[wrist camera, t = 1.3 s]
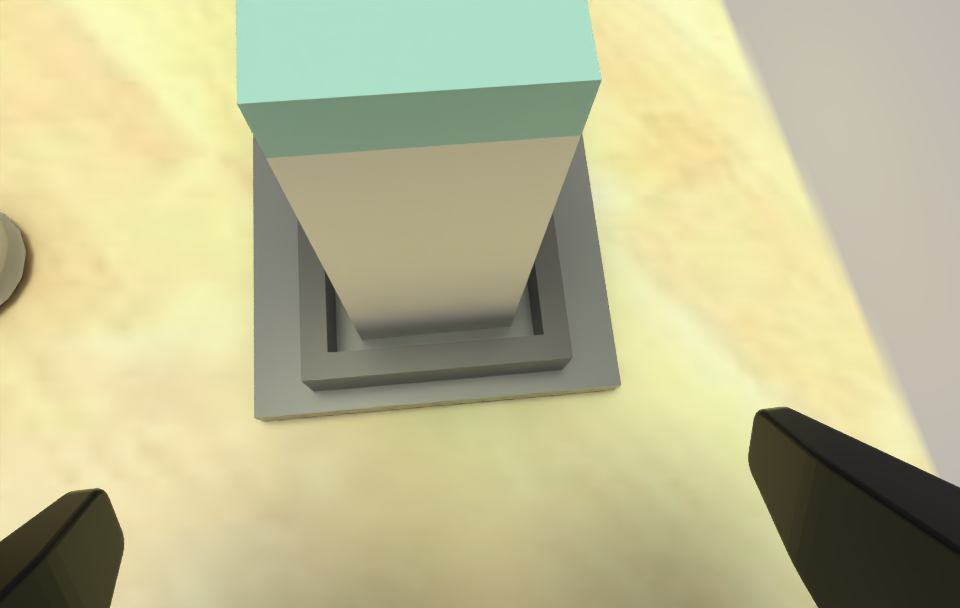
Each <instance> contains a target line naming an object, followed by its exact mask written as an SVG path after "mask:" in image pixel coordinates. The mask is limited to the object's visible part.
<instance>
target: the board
mask: <svg viewBox="0 0 960 608" xmlns="http://www.w3.org/2000/svg"><path fill="white" fill-rule="evenodd" d="M253 192H254V418H256V419H258V420H261V421H272V420H283V419H294V418H306V417H317V416H328V415H339V414H350V413H361V412H372V411H384V410H395V409H406V408H417V407H428V406H439V405H450V404H462V403H473V402H484V401H495V400H506V399H517V398H528V397H540V396H551V395H562V394H573V393H584V392H595V391H606V390H614V389H616V388H617V387H619V386H620V385H621V382H620V376H619V370H618V363H617V357H616V350H615V344H614V337H613V331H612V324H611V318H610V311H609V305H608V298H607V292H606V285H605V279H604V272H603V266H602V260H601V253H600V247H599V240H598V234H597V227H596V221H595V214H594V208H593V201H592V195H591V188H590V182H589V175H588V169H587V162H586V156H585V149H584V143H583V137H582V134H581V137H580V140H579V142H578V145H577V148H576V150H575V153H574V156H573V159H572V161H571V164H570V167H569V169H568V172H567V175H566V177H565V180H564V183H563V186H562V188H561V191H560V194H559V196H558V199H557V202H556V205H555V207H554V210H553V213H552V215H551V218H550V221H549V223H548V226H547V229H546V232H545V234H544V237H543V240H542V242H541V245H540V248H539V250H538V253H537V256H536V259H535V261H534V264H533V267H532V269H531V272H530V275H529V278H528V280H527V283H526V286H525V288H524V291H523V294H522V296H521V299H520V302H519V305H518V307H517V310H516V313H515V315H514V318H513V321H512V323H511V326H510V327H501V328H491V329H480V330H469V331H459V332H448V333H437V334H427V335H416V336H405V337H395V338H384V339H373V340H363V341H362V340H361V338H360V336H359V334H358V332H357V330H356V328H355V326H354V324H353V323H352V321H351V319H350V317H349V315H348V313H347V311H346V309H345V307H344V305H343V304H342V302H341V300H340V298H339V296H338V294H337V292H336V290H335V288H334V287H333V285H332V283H331V281H330V279H329V277H328V275H327V273H326V271H325V269H324V268H323V266H322V264H321V262H320V260H319V258H318V256H317V254H316V252H315V250H314V249H313V247H312V245H311V243H310V241H309V239H308V237H307V235H306V233H305V232H304V230H303V228H302V226H301V224H300V222H299V220H298V218H297V216H296V214H295V213H294V211H293V209H292V207H291V205H290V203H289V201H288V199H287V197H286V195H285V194H284V192H283V190H282V188H281V186H280V184H279V182H278V180H277V178H276V176H275V175H274V173H273V171H272V169H271V167H270V165H269V163H268V161H267V159H266V158H265V156H264V154H263V152H262V150H261V148H260V146H259V144H258V142H257V140H256V139H255V137H254V135H253Z"/></svg>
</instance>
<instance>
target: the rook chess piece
mask: <svg viewBox="0 0 960 608" xmlns="http://www.w3.org/2000/svg"><path fill="white" fill-rule="evenodd" d="M25 256H26V249H25V246H24V242H23V239H22V235H21V232H20V230H19V229H18V228H17V227H16V226H15V225H14V223H13V222H12V221H11V220H10V219H9V218H8V217H7V216H6V215H5V214H3V213H0V305H1V304H2V303H3V302H5V301H6V300H7V299H8V298H10V296H11V294H12V293H13V291H14V290H15V288H16V286H17V285H18V283H19V282H20V280H21V278H22V274H23V268H24V262H25Z"/></svg>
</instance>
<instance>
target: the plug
mask: <svg viewBox="0 0 960 608" xmlns="http://www.w3.org/2000/svg"><path fill="white" fill-rule="evenodd" d="M236 35H237V104H238V106H239V108H240V110H241V112H242V114H243V116H244V118H245V120H246V121H247V123H248V125H249V127H250V129H251V131H252V133H253V135H254V137H255V139H256V140H257V142H258V144H259V146H260V148H261V150H262V152H263V154H264V156H265V158H266V159H267V161H268V163H269V165H270V167H271V169H272V171H273V173H274V175H275V176H276V178H277V180H278V182H279V184H280V186H281V188H282V190H283V192H284V194H285V195H286V197H287V199H288V201H289V203H290V205H291V207H292V209H293V211H294V213H295V214H296V216H297V218H298V220H299V222H300V224H301V226H302V228H303V230H304V232H305V233H306V235H307V237H308V239H309V241H310V243H311V245H312V247H313V249H314V250H315V252H316V254H317V256H318V258H319V260H320V262H321V264H322V266H323V268H324V269H325V271H326V273H327V275H328V277H329V279H330V281H331V283H332V285H333V287H334V288H335V290H336V292H337V294H338V296H339V298H340V300H341V302H342V304H343V305H344V307H345V309H346V311H347V313H348V315H349V317H350V319H351V321H352V323H353V324H354V326H355V328H356V330H357V332H358V334H359V336H360V338H361V340H362V341H363V340H373V339H384V338H395V337H405V336H416V335H427V334H437V333H448V332H459V331H469V330H480V329H491V328H501V327H510V326H511V323H512V321H513V318H514V315H515V313H516V310H517V307H518V305H519V302H520V299H521V296H522V294H523V291H524V288H525V286H526V283H527V280H528V278H529V275H530V272H531V269H532V267H533V264H534V261H535V259H536V256H537V253H538V250H539V248H540V245H541V242H542V240H543V237H544V234H545V232H546V229H547V226H548V223H549V221H550V218H551V215H552V213H553V210H554V207H555V205H556V202H557V199H558V196H559V194H560V191H561V188H562V186H563V183H564V180H565V177H566V175H567V172H568V169H569V167H570V164H571V161H572V159H573V156H574V153H575V150H576V148H577V145H578V142H579V140H580V137H581V134H582V132H583V129H584V126H585V123H586V121H587V118H588V115H589V113H590V110H591V107H592V104H593V102H594V99H595V96H596V94H597V91H598V88H599V86H600V83H601V80H602V79H601V73H600V68H599V62H598V57H597V51H596V46H595V40H594V35H593V29H592V24H591V18H590V13H589V7H588V2H587V0H236Z"/></svg>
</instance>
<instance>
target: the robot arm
mask: <svg viewBox="0 0 960 608" xmlns="http://www.w3.org/2000/svg"><path fill="white" fill-rule="evenodd" d="M748 462H749V467H750V470H751V473H752V475H753V478H754V480H755V482H756V484H757V486H758V489H759V491H760V493H761V495H762V497H763V500H764V502H765V504H766V506H767V508H768V511H769V513H770V515H771V517H772V519H773V522H774V524H775V526H776V528H777V530H778V533H779V535H780V537H781V539H782V541H783V544H784V546H785V548H786V550H787V552H788V554H789V556H790V558H791V561H792V563H793V565H794V567H795V568H796V570H797V572H798V574H799V576H800V577H801V579H802V581H803V583H804V584H805V586H806V588H807V589H808V591H809V593H810V595H811V596H812V598H813V600H814V601H815V603H816V605H817V606H818V608H960V487H957V486H955V485H953V484H951V483H949V482H947V481H945V480H942V479H940V478H938V477H936V476H934V475H932V474H930V473H927V472H925V471H923V470H921V469H919V468H917V467H915V466H913V465H910V464H908V463H906V462H904V461H902V460H900V459H898V458H895V457H893V456H891V455H889V454H887V453H885V452H883V451H880V450H878V449H876V448H874V447H872V446H870V445H868V444H865V443H863V442H861V441H859V440H857V439H855V438H853V437H850V436H848V435H846V434H844V433H842V432H840V431H838V430H835V429H833V428H831V427H829V426H827V425H825V424H823V423H820V422H818V421H816V420H814V419H812V418H810V417H808V416H805V415H803V414H801V413H799V412H797V411H795V410H793V409H790V408H788V407H776V408H768V409H761V410H759V411H758V412H757V413H756V414H755V417H754V420H753V427H752V433H751V440H750V446H749V453H748ZM123 551H124V536H123V532H122V529H121V527H120V524H119V522H118V519H117V517H116V514H115V511H114V509H113V506H112V504H111V501H110V499H109V497H108V495H107V493H106V492H105V491H104V490H102V489H99V488H94V489H86V490H77V491H71V492H69V493H66V494H65V495H63V496H62V497H61V498H59V499H58V500H57V501H55V502H54V503H52V504H51V505H50V506H48V507H47V508H46V509H44V510H43V511H42V512H40V513H39V514H37V515H36V516H35V517H33V518H32V519H31V520H29V521H28V522H26V523H25V524H24V525H22V526H21V527H20V528H18V529H17V530H15V531H14V532H13V533H11V534H10V535H9V536H7V537H6V538H4V539H3V540H2V541H0V608H110V605H111V601H112V597H113V593H114V589H115V585H116V580H117V576H118V572H119V568H120V564H121V560H122V556H123Z"/></svg>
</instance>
